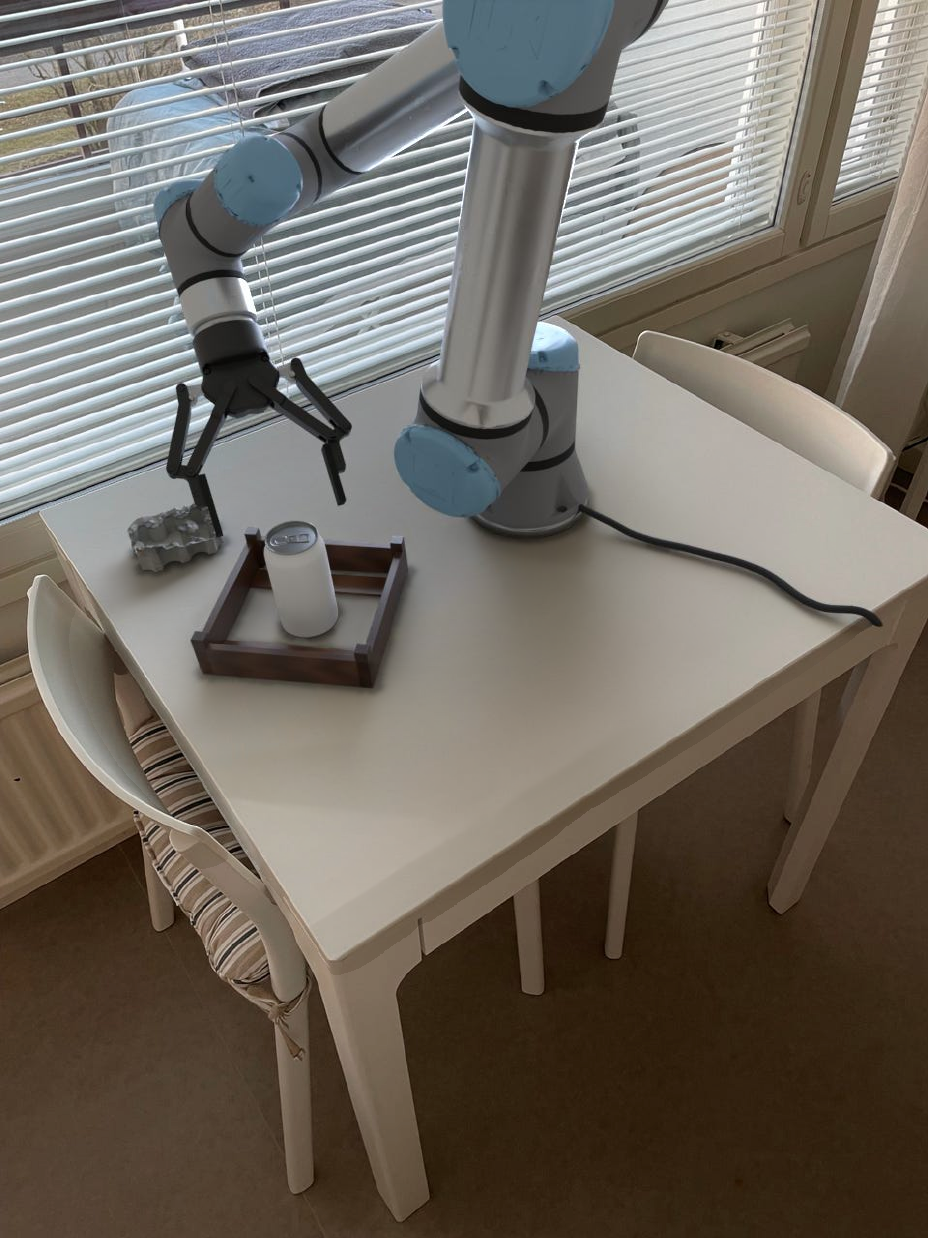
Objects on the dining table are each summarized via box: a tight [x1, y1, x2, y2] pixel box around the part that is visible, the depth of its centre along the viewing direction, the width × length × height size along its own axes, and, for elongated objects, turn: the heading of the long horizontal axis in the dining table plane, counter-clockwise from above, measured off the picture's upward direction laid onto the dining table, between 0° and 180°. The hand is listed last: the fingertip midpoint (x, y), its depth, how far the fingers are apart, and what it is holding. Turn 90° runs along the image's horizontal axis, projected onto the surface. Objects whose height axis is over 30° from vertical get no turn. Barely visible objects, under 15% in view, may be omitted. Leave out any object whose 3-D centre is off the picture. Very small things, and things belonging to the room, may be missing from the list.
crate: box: [190, 526, 409, 689], centre depth 103 cm, size 19×19×5 cm
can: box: [264, 519, 339, 639], centre depth 101 cm, size 6×6×12 cm
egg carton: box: [126, 502, 224, 572], centre depth 114 cm, size 11×8×4 cm
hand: (281, 519), depth 101 cm, fingers open, 13 cm apart
